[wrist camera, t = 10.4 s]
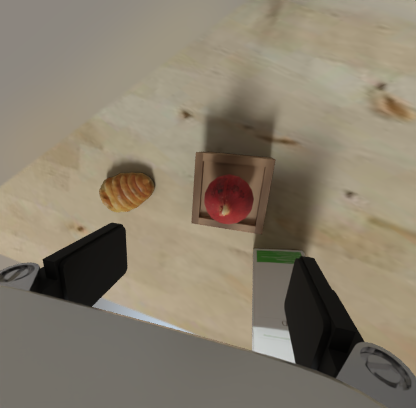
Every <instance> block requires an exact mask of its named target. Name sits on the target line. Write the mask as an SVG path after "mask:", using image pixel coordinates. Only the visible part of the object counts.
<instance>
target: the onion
mask: <svg viewBox="0 0 416 408" xmlns="http://www.w3.org/2000/svg"><path fill="white" fill-rule="evenodd" d="M253 201H254V197H253V192H252V189H251V188H250V186H249V185H248V183H247V182H246V181H244V180H243V179H242V178H240V177H238V176H234V175H230V174H228V175H223V176H219V177H217V178H216V179H214V180H213V181H212V182H211V183H210V184H209V186H208V188H207V190H206V192H205V198H204V204H205V207H206V210H207V212H208V214H209V215H210V216H211V218H212V219H214V220H215V221H217V222H219V223H223V224H233V223H238V222H240V221H241V220H243V219H245V218H246V217H247V216H248V214H249V213H250V212H251V210H252V206H253Z"/></svg>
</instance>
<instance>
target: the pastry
mask: <svg viewBox="0 0 416 408" xmlns="http://www.w3.org/2000/svg"><path fill="white" fill-rule="evenodd" d="M154 189H155V186H154V183H153V181H152V180H151V179H150V178H149V177H148V176H147V175H145V174H143V173H133V172H130V173H119V174H118V175H116V176H114V177H111V178H110V177H109V178H107V179H106V180H104V182H103V184H102V185H101V188H100V190H99V194H100V198H101V200H102V202H103V204H104V205H106V206H107V208H108V209H110V210H111V211H114V212H128V211H130V210H132V209H134V208H137V207H138V206H139V205H140V204H142V203H143V202H144V201H145V200H147V199H148V198H149V197H150V196H151V195H152V193H153V191H154Z"/></svg>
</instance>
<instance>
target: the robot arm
mask: <svg viewBox="0 0 416 408" xmlns="http://www.w3.org/2000/svg"><path fill="white" fill-rule="evenodd" d="M43 264H44V267H42V268H41V269H40V267H39V265H38V264H36V263H21V264H17V265H13V266H10V267H7V268H5V269H3V270H1V271H0V408H416V377H415V376H414V374H413V373H412V372H411V370H410V369H409V368H408V367H407V366H406V365H405V364H404V363H403V362H402V361H401V360H400V359H399V358H397V357H396V356H395V355H393V354H392V353H391V352H389V351H387V350H385V349H384V348H382V347H380V346H378V345H375V344H372V343H368V342H364V340H363V338H362V337H361V335H360V333H359V332H358V330H357V328H356V326H355V325H354V323H353V321H352V320H351V318H350V316H349V314H348V313H347V311H346V309H345V308H344V306H343V304H342V303H341V301H340V299H339V297H338V296H337V294H336V293H335V291H334V290H332V289H331V287H330V285H329V284H328V282H327V280H326V278H325V277H324V275H323V273H322V271H321V270H320V268H319V266H318V264H317V263H316V261H315V259H314V258H310V257H304V256H300V258H296V259H295V262H294V266H293V270H292V274H291V278H290V282H289V286H288V290H287V294H286V298H285V302H284V310H285V315H286V320H287V325H288V330H289V335H290V339H291V344H292V349H293V354H294V359H295V363H292V362H289V361H286V360H283V359H279V358H276V357H273V356H269V355H265V354H262V353H258V352H255V351H251V350H248V349H245V348H241V347H238V346H234V345H230V344H227V343H223V342H219V341H216V340H212V339H209V338H205V337H201V336H198V335H194V334H191V333H187V332H183V331H180V330H175V329H172V328H168V327H165V326H161V325H158V324H154V323H150V322H146V321H143V320H139V319H135V318H132V317H128V316H124V315H120V314H117V313H113V312H109V311H105V310H102V309H98V308H94V307H92V306H93V305H94V304H95V303H96V302H97V301H98V300H99V299H100V298H101V297H102V296H103V295H104V294H105V293H106V292H107V291H108V290H109V289H110V288H111V287H112V286H113V285H114V284H115V283H116V282H117V281H118V280H119V279H120V278H121V277H122V276H123V275H124V274H125V273H126V271H127V250H126V230H125V228H124V227H123V225H122V224H117V223H110V224H108V225H106V226H104V227H102V228H100V229H99V230H97V231H95V232H93V233H91V234H89V235H87V236H85V237H84V238H82V239H80V240H78V241H76V242H74V243H72V244H70V245H69V246H67V247H65V248H63V249H61V250H59V251H57V252H55V253H54V254H52V255H50V256H48V257H46V258H44V259H43Z"/></svg>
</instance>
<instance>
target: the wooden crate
mask: <svg viewBox="0 0 416 408" xmlns="http://www.w3.org/2000/svg"><path fill="white" fill-rule="evenodd" d="M274 165H275V159H273V158H270V157H259V156H248V155H237V154H226V153H215V152H196V159H195V175H194V192H193V208H192V223H194V224H200V225H206V226H213V227H219V228H225V229H231V230H237V231H244V232H250V233H256V234H262V231H263V226H264V220H265V215H266V209H267V203H268V198H269V192H270V187H271V181H272V176H273V170H274ZM228 174H230V175H234V176H238V177H240V178H242V179H243V180H244V181H246V182H247V183H248V185H249V186H250V188H251V189H252V192H253V197H254V201H253V206H252V210H251V212H250V213H249V214H248V216H247V217H246V218H245V219H243V220H241V221H240V222H238V223H233V224H223V223H219V222H217V221H215V220H214V219H212V218H211V216H210V215H209V214H208V212H207V210H206V207H205V204H204V198H205V192H206V190H207V188H208V186H209V184H210V183H211V182H212V181H213V180H214V179H216V178H217V177H219V176H223V175H228Z"/></svg>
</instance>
